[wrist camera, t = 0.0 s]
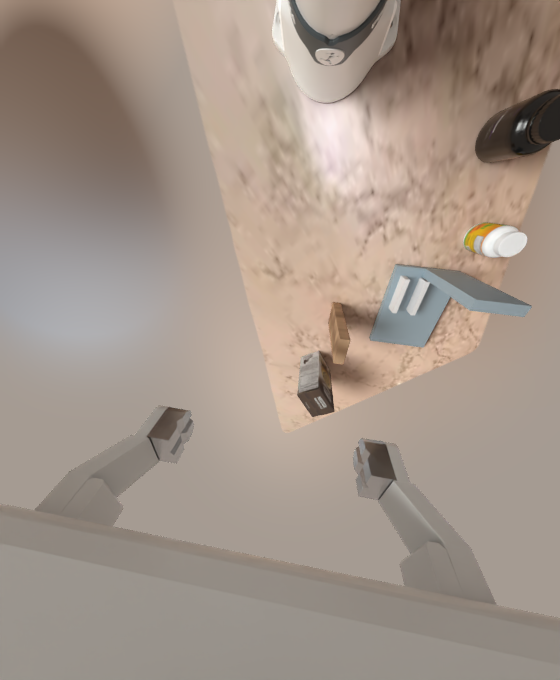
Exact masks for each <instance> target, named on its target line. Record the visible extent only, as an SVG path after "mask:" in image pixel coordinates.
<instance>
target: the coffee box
mask: <svg viewBox="0 0 560 680" xmlns="http://www.w3.org/2000/svg"><path fill="white" fill-rule="evenodd" d="M297 396H298V397H299V398H300V400H301V401H302V403H303V404H304V406H305V407H306V409H307V410H308V411H309V413H310V414H311V416H312V417H314V416H318V415H324V414H328V413H332V412H334V404H333V395H332V385H331V375H330V370H329V368H328V366H327V365H326V363H325V361H324V359H323V357H322V356H321V354H320V352H319V351H316V352H314V353H311V354H308V355H305V356H302V357H301V362H300V372H299V383H298V393H297Z"/></svg>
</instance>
